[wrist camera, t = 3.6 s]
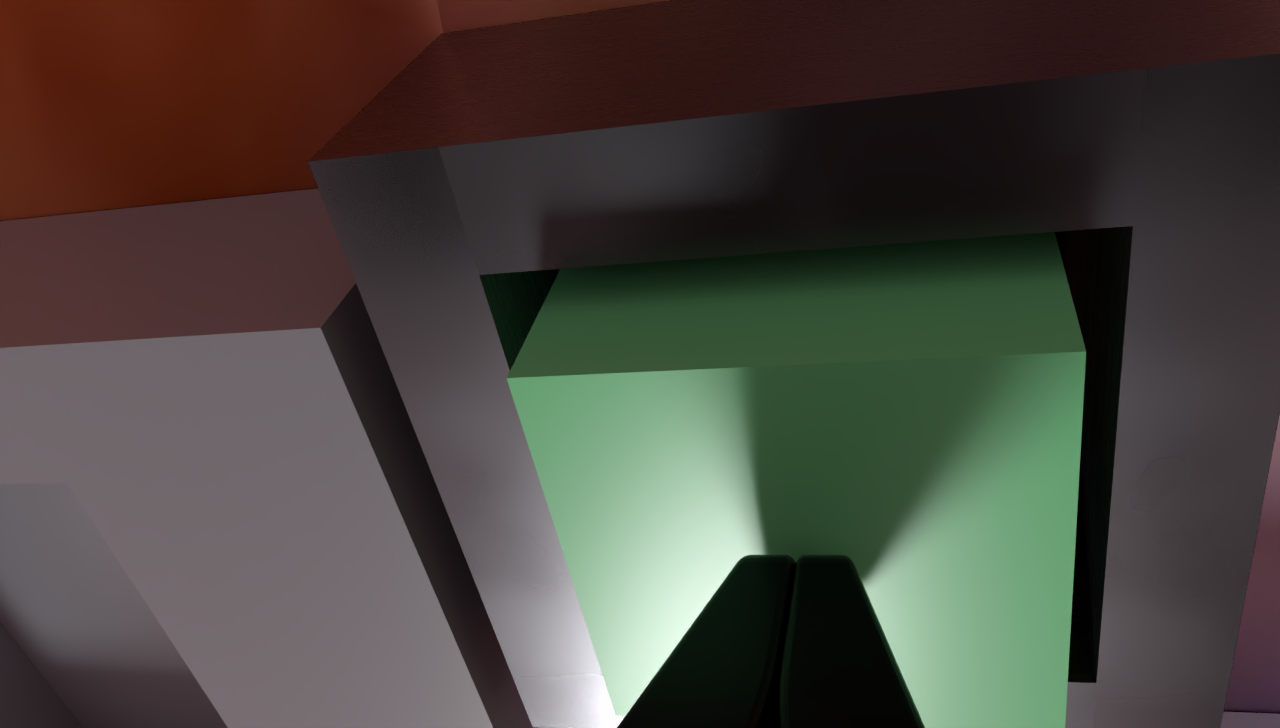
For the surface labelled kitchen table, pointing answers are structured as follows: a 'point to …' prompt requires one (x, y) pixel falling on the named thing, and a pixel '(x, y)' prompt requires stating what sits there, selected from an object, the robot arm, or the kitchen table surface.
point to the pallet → (219, 487)
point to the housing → (851, 217)
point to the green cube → (823, 452)
